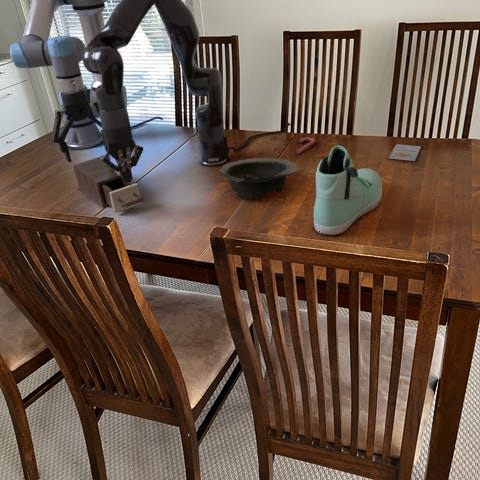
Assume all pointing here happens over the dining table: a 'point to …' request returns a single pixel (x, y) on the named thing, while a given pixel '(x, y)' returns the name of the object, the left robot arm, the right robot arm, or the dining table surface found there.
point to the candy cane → (306, 144)
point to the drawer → (121, 194)
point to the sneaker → (343, 192)
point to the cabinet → (94, 178)
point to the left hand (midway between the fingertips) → (88, 155)
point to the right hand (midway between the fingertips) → (127, 181)
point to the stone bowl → (257, 176)
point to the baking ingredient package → (405, 152)
